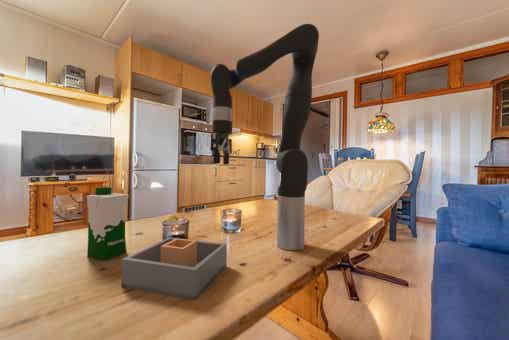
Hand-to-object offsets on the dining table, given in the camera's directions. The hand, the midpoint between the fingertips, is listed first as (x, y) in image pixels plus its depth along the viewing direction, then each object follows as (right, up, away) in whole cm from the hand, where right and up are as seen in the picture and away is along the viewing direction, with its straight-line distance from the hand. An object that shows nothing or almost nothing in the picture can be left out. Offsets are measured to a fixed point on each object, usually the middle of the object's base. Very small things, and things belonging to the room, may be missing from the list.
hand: (221, 164), depth 81 cm
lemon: (-19, -28, +3) cm, 34 cm away
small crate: (-6, -27, -29) cm, 40 cm away
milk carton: (-32, -28, -16) cm, 45 cm away
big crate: (-6, -28, -29) cm, 40 cm away
